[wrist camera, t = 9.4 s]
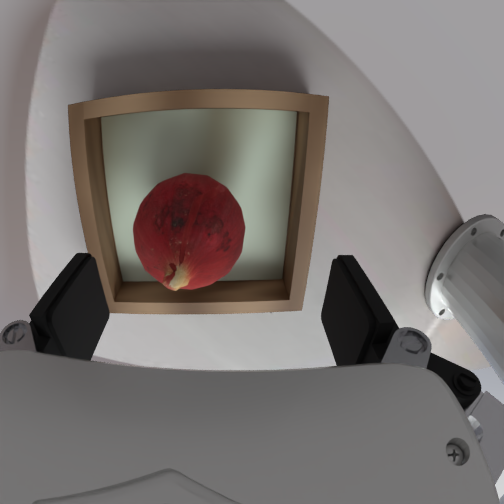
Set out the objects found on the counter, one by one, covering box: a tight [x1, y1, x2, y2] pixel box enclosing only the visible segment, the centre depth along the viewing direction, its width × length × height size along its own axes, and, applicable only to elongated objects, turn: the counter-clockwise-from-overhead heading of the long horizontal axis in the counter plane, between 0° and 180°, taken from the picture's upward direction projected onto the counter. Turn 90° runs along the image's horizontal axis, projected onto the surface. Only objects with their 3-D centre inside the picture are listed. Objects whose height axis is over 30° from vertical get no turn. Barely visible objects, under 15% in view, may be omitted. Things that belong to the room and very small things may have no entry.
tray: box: [68, 89, 329, 314], centre depth 18 cm, size 14×14×4 cm
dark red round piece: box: [133, 173, 246, 291], centre depth 15 cm, size 6×6×8 cm
